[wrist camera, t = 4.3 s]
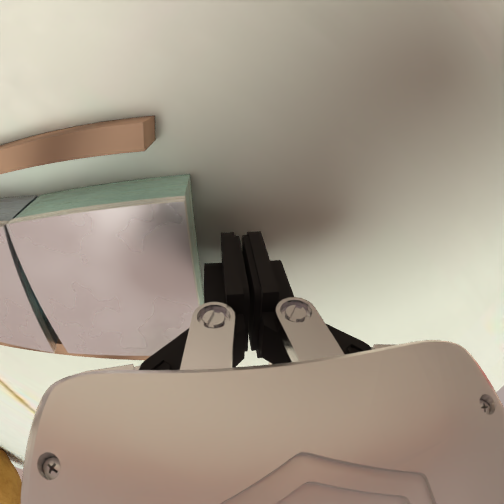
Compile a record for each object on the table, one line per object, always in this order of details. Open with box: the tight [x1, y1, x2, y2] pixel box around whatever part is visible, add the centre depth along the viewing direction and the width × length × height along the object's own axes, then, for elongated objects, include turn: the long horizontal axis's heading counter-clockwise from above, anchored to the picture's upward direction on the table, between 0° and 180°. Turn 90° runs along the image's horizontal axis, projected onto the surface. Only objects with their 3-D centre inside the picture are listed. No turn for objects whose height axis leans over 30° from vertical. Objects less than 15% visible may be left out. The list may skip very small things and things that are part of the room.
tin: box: [6, 174, 204, 356], centre depth 12 cm, size 8×8×4 cm
